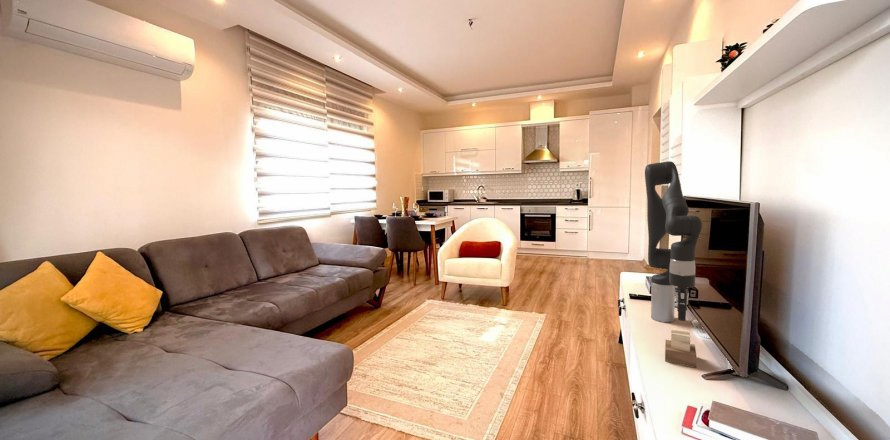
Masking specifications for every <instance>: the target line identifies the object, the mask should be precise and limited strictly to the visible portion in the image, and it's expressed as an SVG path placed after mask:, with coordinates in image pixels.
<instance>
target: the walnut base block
mask: <svg viewBox="0 0 890 440" xmlns="http://www.w3.org/2000/svg"><path fill="white" fill-rule="evenodd" d="M664 346H665V347H664V348H665V349H664V350H665V351H664V355H665V356H664V362H666V363H671V364H676V365H682V366H686V367H692V368H697V349H696V345H695V344H693V343H690V352H688V351H683V350H677V349H672V348H671V339H665V345H664Z"/></svg>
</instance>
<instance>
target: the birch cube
mask: <svg viewBox="0 0 890 440" xmlns="http://www.w3.org/2000/svg"><path fill="white" fill-rule="evenodd" d="M670 330H671V332H670V333H671V336H670V337H671V338H670V340H671V348H672V349H677V350H683V351H688V352H690V344H691V331H690V330H686V329H680V328H674V327H671V329H670Z"/></svg>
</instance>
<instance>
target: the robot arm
mask: <svg viewBox="0 0 890 440" xmlns="http://www.w3.org/2000/svg"><path fill="white" fill-rule="evenodd" d="M679 175H680V174H679V172H678V168H677V166H676V164H675V162H673V161H663V162H662V161H661V162H654V163H649V164H647V165H646V166H645V168H644V182H645V188H646V199H647V201H646V202H647V203H646V204H647V205H646V206H647V207H646V208H647V209H646V214H647V217H646V218H647V219H646V221H647V231H648V232H647V235H648V245H647V247H648V249H647V250H648V251H647V252H648V253H647V262H648V266H649V267H650V268H654V269H664V270H665V269H666V271H664V272H662V273H656V274H654V275H651V281H650V282H651V290H650V291H651V292H650V295H651V298H650V299H651V303H650V305H651V306H650V309H651V310H650V318H651V319H652V320H654V321H657V322H662V323H673V322H675V308H676V307H675V304H677V319H678V321H683V322H685V321H686V319H687V318H686V317H687V315H686V314H687V311H688V308H687V307H688V304H689V295H690V291H689V289H687V288H694V287H696V256H695V255H696V247H697V243H698V241H699V238H700V235H701V232H702V228H703V223H702V220H701V218H700V217H699V216H697V215H689V212H690V209H689V207H688V204H687V202H686V200H685V197H684V195H683V191H682V190H683V189H682V185H681V181H680V176H679ZM662 185H669V186H668V188H667V189H666V191H665V192H664V193H663V196H662V197H661V196H660V195H659V193H658V192H657V190H656V186H662ZM666 234H669V235H670V236H672V237H673V236H675V237H677V236H679V237H682V236H684V237H685V238H684V239H683V240H680V241H676V242H673V243H671V245H670V248H658V245H659V243H660V241H661V240H662V238H664V237H665V236H666Z"/></svg>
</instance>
